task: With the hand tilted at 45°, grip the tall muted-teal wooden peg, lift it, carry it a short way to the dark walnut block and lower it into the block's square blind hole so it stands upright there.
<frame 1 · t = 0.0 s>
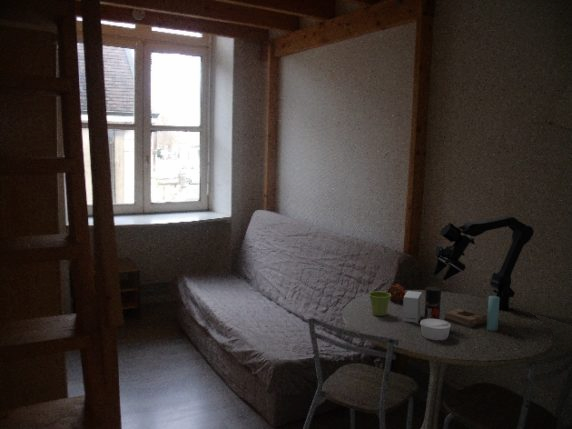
hand: (439, 277, 230), 15 cm above the table, tool tilted 35°, fingers open, 9 cm apart
skincare box: (411, 318, 220), on the table
peg: (491, 328, 208), on the table
dragon fruit: (395, 300, 246), on the table
deodorant: (431, 325, 212), on the table
socket block: (465, 320, 218), on the table
ramekin: (434, 337, 199), on the table
plant pot: (379, 314, 225), on the table
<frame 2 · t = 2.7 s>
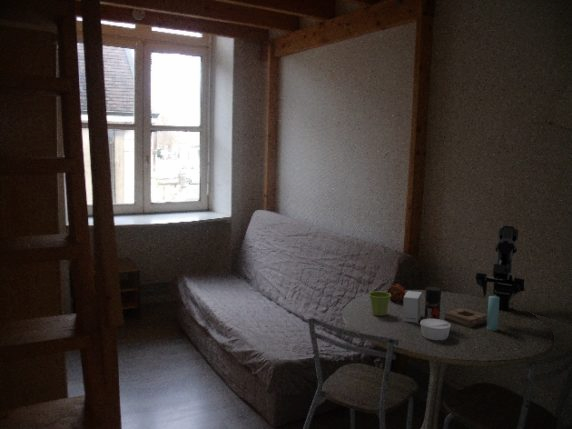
hand: (496, 299, 211), 11 cm above the table, tool tilted 45°, fingers open, 9 cm apart
nothing on the table moved.
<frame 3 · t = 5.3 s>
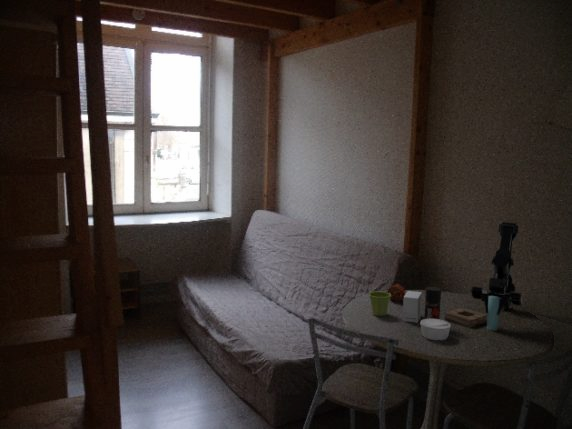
hand: (492, 313, 206), 7 cm above the table, tool tilted 45°, fingers closed on peg, 4 cm apart
peg: (492, 328, 208), on the table, touching gripper
everything else where it was.
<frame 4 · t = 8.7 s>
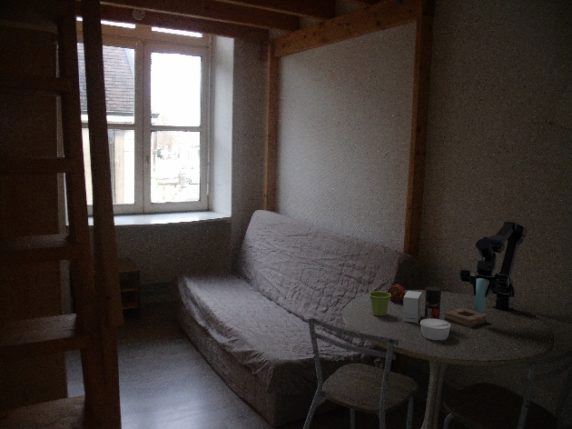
hand: (480, 295, 210), 13 cm above the table, tool tilted 45°, fingers closed on peg, 4 cm apart
peg: (479, 310, 212), point 6 cm above the table, touching gripper
everything else where it was.
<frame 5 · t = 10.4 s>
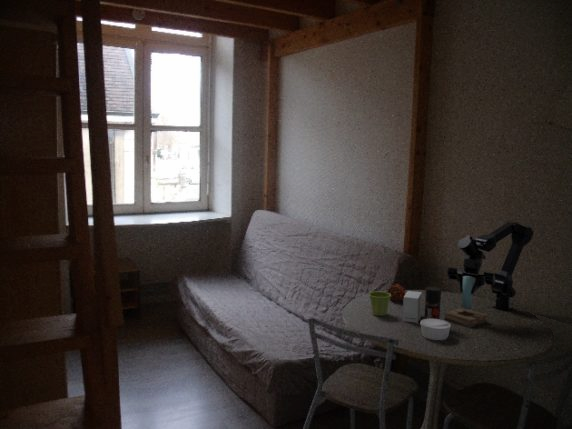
hand: (466, 292, 215), 12 cm above the table, tool tilted 45°, fingers closed on peg, 4 cm apart
peg: (466, 307, 217), point 6 cm above the table, touching gripper
everything else where it was.
when the fingers open (9 cm above the table, at t = 12.1 s): peg stays where it is, resting on socket block.
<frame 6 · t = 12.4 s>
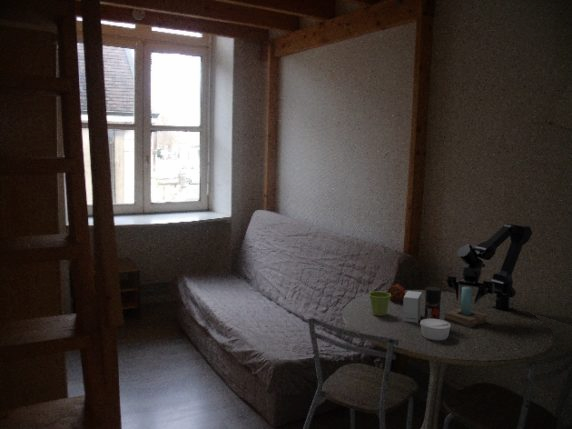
hand: (465, 301, 215), 9 cm above the table, tool tilted 45°, fingers open, 7 cm apart
peg: (465, 318, 218), point 1 cm above the table, touching socket block
everything else where it was.
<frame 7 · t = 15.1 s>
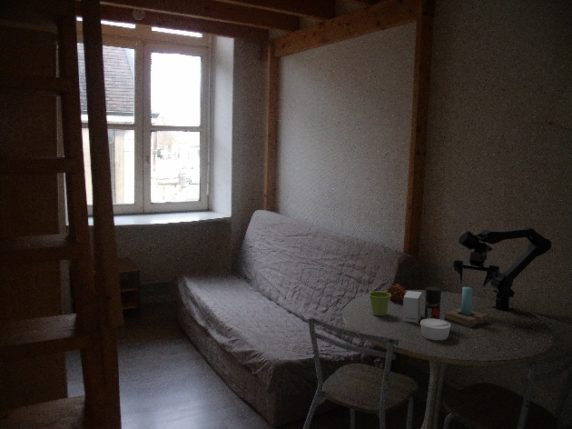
hand: (472, 285, 223), 14 cm above the table, tool tilted 45°, fingers open, 9 cm apart
nothing on the table moved.
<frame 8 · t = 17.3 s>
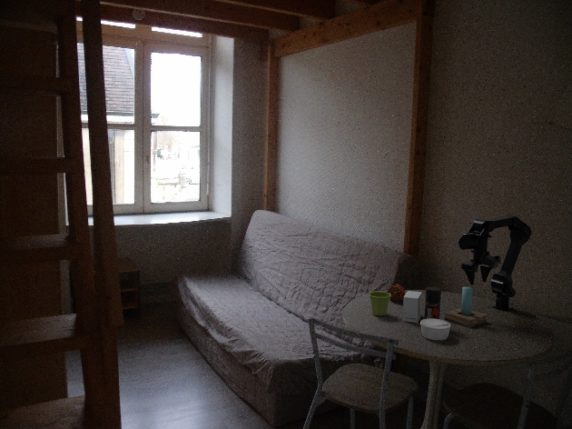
hand: (478, 283, 228), 13 cm above the table, tool pointing down, fingers open, 9 cm apart
nothing on the table moved.
at the end: peg 0.0 cm off-centre on the socket block, point 1.0 cm above the socket block's base; peg tilted 0°; the gripper is holding nothing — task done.
